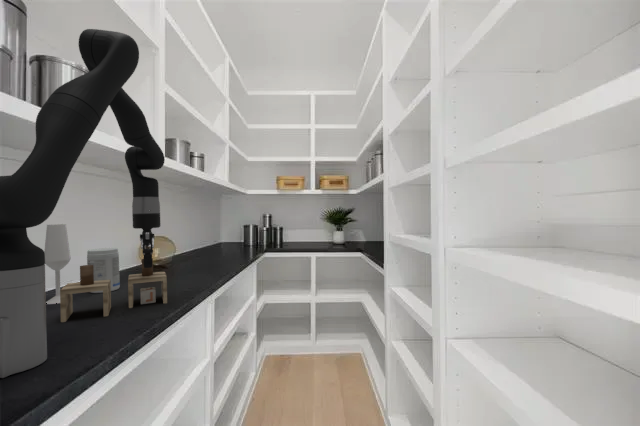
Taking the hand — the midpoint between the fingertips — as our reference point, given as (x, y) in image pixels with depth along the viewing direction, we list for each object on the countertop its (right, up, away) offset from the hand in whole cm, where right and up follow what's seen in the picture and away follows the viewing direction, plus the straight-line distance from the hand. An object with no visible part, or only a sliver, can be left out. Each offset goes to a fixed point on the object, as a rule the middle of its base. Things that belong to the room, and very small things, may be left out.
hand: (148, 265), depth 104 cm
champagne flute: (-30, -12, +3) cm, 32 cm away
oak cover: (0, -11, 0) cm, 11 cm away
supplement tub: (-25, -12, +18) cm, 33 cm away
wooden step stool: (-10, -11, -12) cm, 19 cm away
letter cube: (0, -11, 0) cm, 11 cm away
